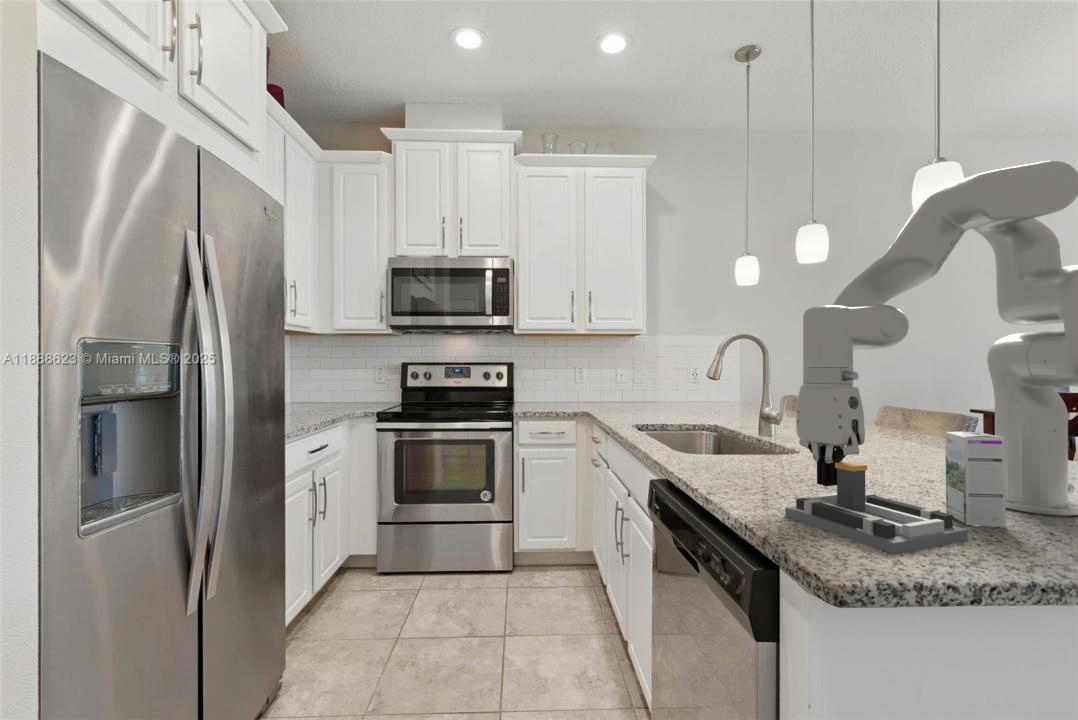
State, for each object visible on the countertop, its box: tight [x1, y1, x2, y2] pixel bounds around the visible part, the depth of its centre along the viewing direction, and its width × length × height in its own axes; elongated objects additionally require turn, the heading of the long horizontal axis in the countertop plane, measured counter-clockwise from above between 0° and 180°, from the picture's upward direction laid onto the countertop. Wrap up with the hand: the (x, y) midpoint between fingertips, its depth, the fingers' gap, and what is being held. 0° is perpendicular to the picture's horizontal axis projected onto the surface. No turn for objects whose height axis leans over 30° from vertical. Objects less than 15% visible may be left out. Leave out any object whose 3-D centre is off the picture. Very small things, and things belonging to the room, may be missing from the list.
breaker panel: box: [784, 492, 969, 555], centre depth 79 cm, size 16×18×3 cm
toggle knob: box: [835, 461, 868, 513], centre depth 82 cm, size 3×3×8 cm
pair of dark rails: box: [795, 491, 954, 539], centre depth 79 cm, size 15×15×2 cm
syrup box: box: [944, 430, 1007, 529], centre depth 82 cm, size 6×6×14 cm
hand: (827, 484), depth 86 cm, fingers closed
